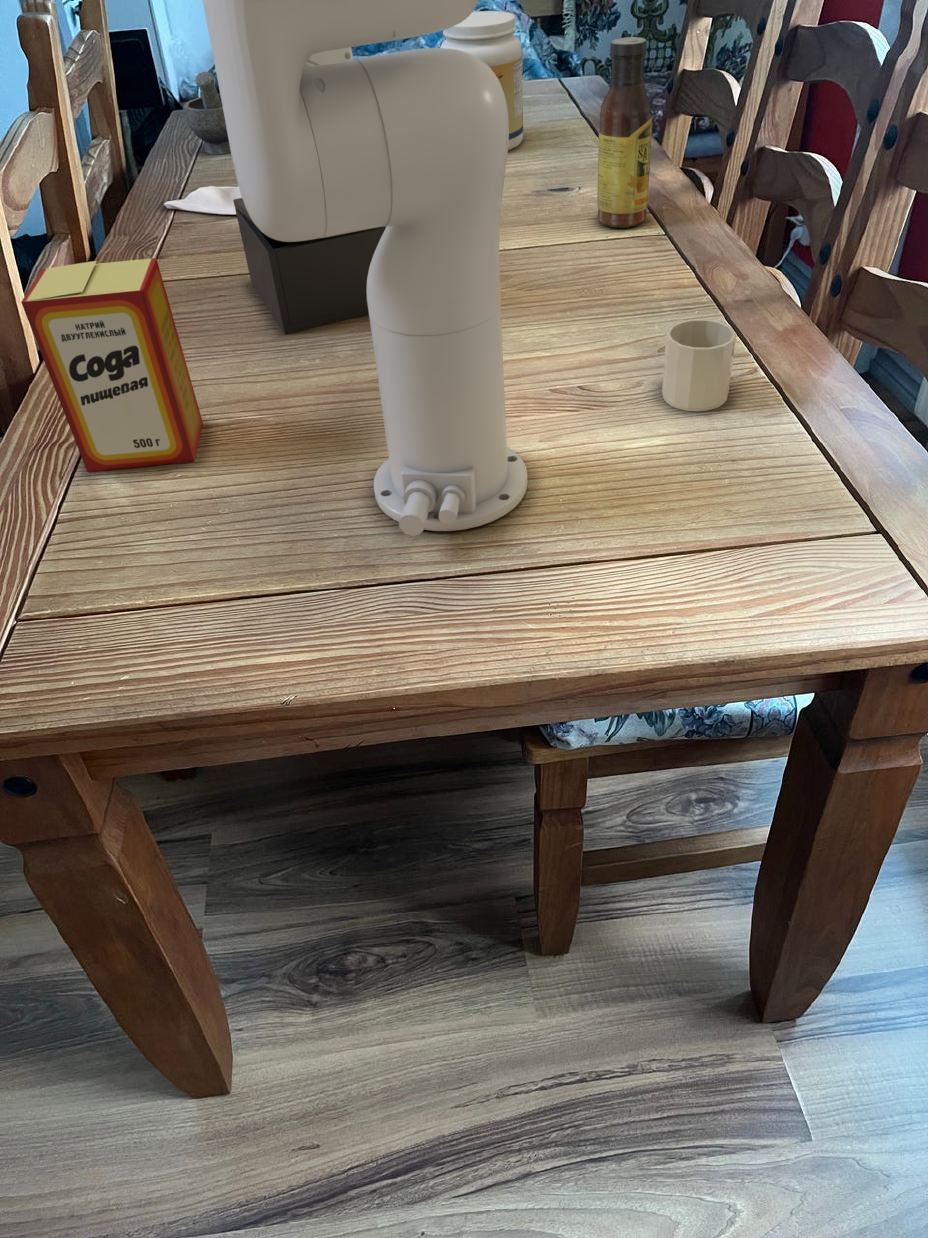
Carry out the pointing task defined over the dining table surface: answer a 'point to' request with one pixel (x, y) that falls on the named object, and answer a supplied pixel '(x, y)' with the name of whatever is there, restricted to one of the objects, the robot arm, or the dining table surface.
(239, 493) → the dining table surface
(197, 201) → the cloth
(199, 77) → the mortar and pestle
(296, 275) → the dark grey storage bin
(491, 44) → the supplement tub
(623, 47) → the sauce bottle
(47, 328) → the baking soda box
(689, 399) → the cup
